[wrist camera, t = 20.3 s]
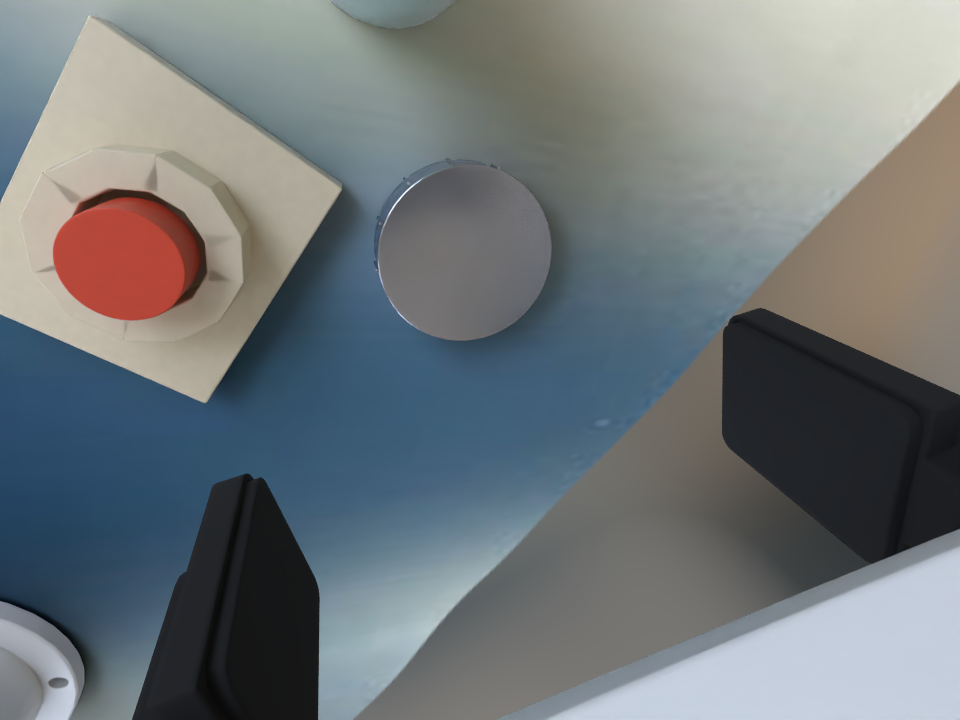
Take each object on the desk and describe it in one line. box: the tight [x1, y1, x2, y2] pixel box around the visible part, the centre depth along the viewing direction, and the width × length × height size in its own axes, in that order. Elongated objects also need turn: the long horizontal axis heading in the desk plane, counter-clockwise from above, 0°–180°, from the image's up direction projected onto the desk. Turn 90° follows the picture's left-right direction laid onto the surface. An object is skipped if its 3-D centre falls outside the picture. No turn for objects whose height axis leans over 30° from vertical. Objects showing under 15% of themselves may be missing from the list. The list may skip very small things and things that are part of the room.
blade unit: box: [374, 158, 552, 341], centre depth 23 cm, size 8×8×2 cm
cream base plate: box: [0, 15, 342, 403], centre depth 19 cm, size 11×9×4 cm
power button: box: [53, 197, 200, 321], centre depth 17 cm, size 4×4×2 cm
